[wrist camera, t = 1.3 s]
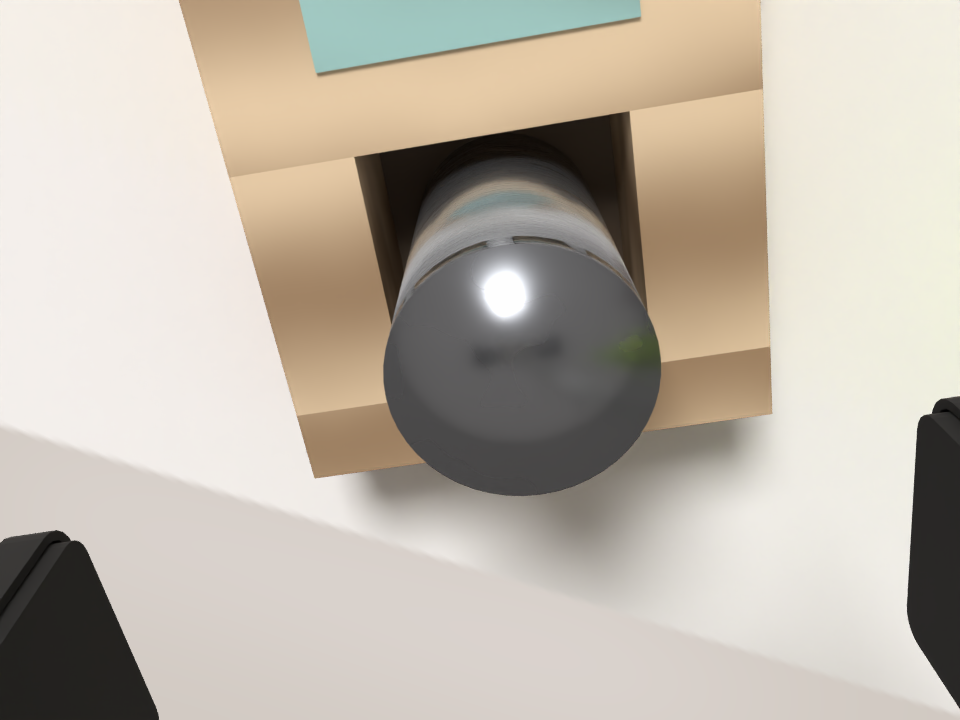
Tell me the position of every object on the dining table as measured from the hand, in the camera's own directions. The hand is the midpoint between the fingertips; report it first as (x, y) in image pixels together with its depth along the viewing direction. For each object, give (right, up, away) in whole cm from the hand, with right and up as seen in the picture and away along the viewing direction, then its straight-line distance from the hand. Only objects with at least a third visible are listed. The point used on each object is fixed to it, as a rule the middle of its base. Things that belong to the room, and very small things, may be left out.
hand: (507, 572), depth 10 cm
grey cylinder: (0, +6, +14) cm, 16 cm away
